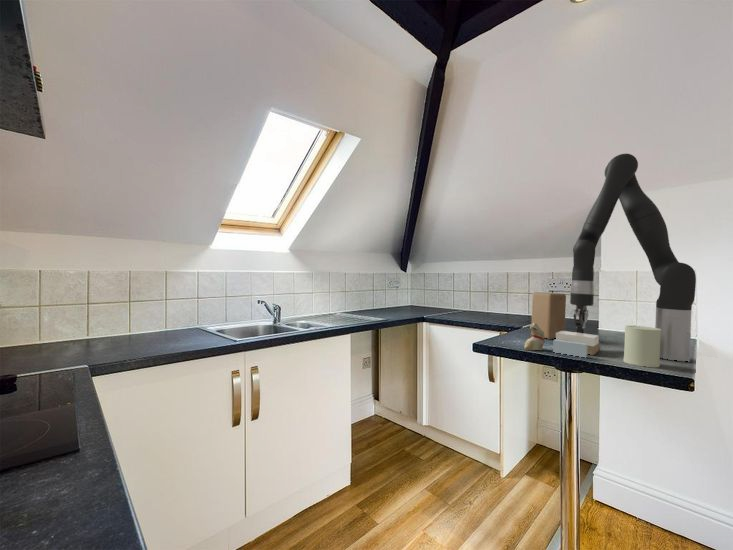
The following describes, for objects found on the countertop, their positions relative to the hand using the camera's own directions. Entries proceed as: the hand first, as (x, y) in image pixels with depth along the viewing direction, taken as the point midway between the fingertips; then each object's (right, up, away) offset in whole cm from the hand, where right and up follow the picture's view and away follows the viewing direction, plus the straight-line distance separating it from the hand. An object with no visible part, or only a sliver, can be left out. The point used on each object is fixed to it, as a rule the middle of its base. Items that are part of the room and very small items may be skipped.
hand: (580, 337), depth 132 cm
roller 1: (-6, -3, -7) cm, 10 cm away
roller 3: (+1, -4, +1) cm, 4 cm away
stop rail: (-12, -4, -13) cm, 18 cm away
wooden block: (0, -4, +23) cm, 24 cm away
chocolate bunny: (-20, -4, -5) cm, 21 cm away
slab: (-4, -1, -5) cm, 7 cm away
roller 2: (-3, -2, -4) cm, 6 cm away
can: (+6, -5, -22) cm, 23 cm away
